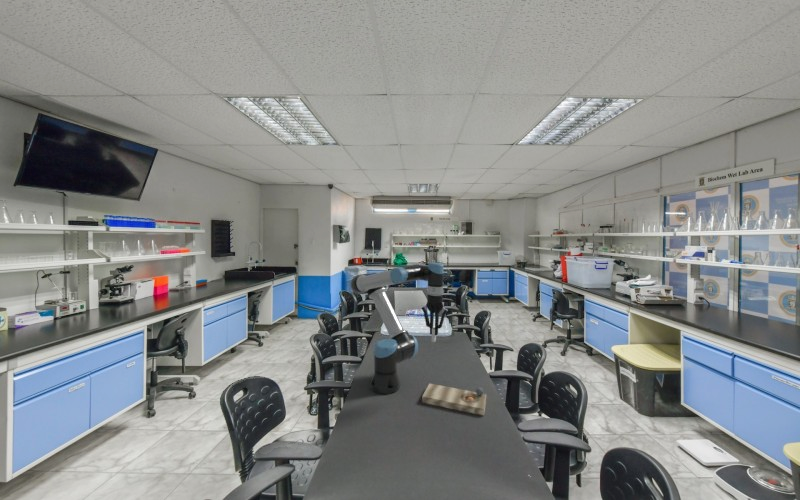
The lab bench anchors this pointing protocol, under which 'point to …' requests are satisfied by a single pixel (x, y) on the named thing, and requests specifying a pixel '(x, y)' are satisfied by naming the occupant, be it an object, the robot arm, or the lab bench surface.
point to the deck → (454, 399)
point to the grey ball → (479, 391)
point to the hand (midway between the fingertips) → (433, 341)
